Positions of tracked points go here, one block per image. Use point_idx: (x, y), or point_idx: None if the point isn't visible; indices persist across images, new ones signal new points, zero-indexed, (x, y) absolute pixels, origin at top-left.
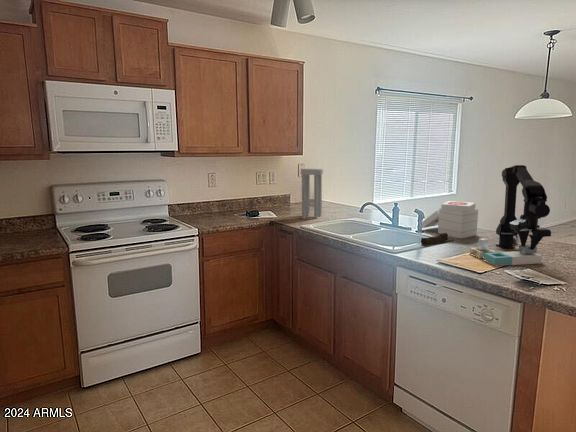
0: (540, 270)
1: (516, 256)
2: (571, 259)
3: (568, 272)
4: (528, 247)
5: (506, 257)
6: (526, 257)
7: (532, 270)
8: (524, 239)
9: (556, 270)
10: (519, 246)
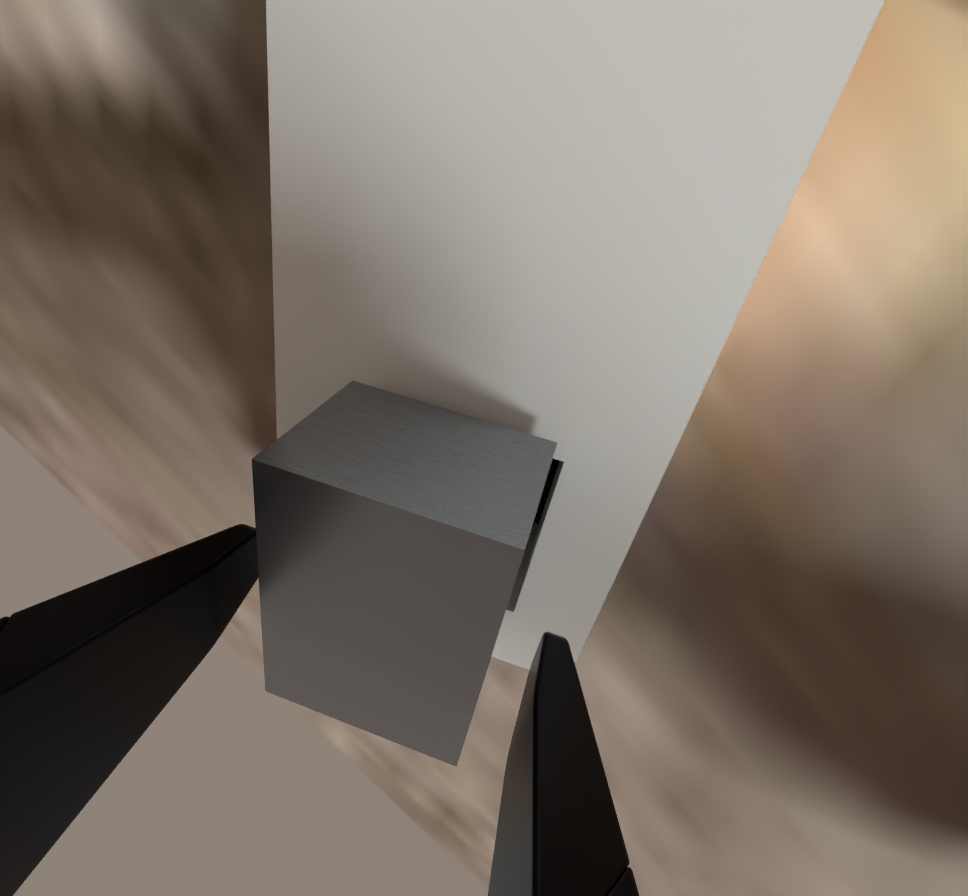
0: (58, 188)
1: (293, 42)
2: (380, 789)
3: (22, 426)
4: (262, 533)
5: None
6: (288, 310)
7: (45, 47)
8: (504, 869)
9: (76, 385)
10: (506, 517)
